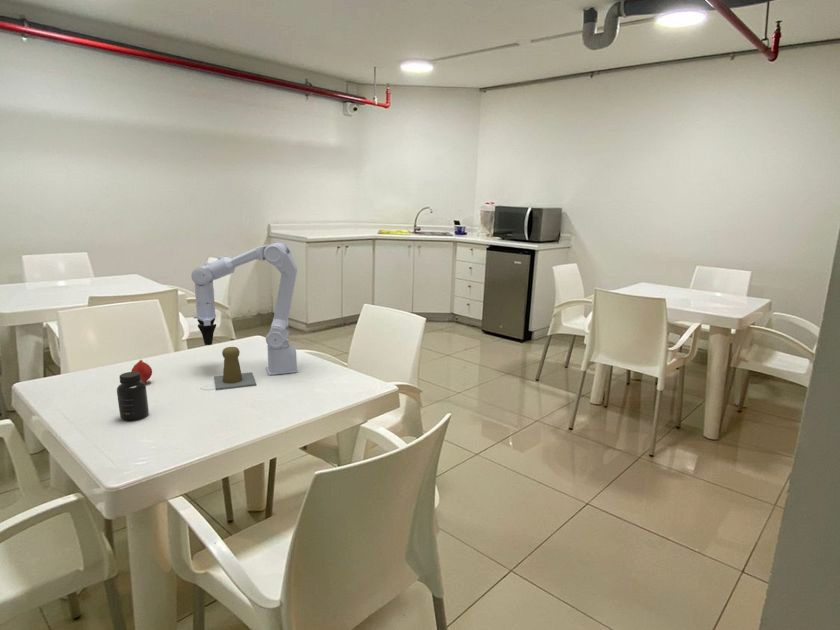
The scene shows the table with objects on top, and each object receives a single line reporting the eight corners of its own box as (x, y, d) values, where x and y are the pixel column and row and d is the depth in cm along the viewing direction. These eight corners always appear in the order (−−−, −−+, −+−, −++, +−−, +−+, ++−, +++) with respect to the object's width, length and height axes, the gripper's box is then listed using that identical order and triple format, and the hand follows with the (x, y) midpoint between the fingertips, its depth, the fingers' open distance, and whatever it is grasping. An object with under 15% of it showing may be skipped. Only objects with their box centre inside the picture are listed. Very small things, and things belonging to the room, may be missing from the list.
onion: (128, 385, 159) (125, 360, 158) (143, 379, 165) (141, 355, 163) (141, 388, 157) (138, 363, 156) (157, 382, 162) (154, 358, 161)
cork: (238, 383, 161) (236, 350, 159) (219, 383, 161) (217, 349, 159) (245, 377, 167) (243, 345, 165) (227, 376, 167) (225, 344, 165)
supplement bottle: (129, 410, 140) (125, 369, 138) (154, 411, 140) (150, 370, 138) (114, 421, 134) (109, 378, 131) (139, 422, 133) (135, 379, 131)
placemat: (252, 373, 172) (252, 372, 172) (256, 385, 162) (256, 383, 162) (214, 377, 168) (214, 376, 167) (215, 390, 157) (215, 388, 157)
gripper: (192, 299, 174) (194, 337, 177) (192, 307, 161) (195, 348, 164) (214, 298, 177) (216, 335, 180) (216, 306, 164) (218, 346, 167)
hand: (208, 341), depth 172 cm, fingers open, 7 cm apart
